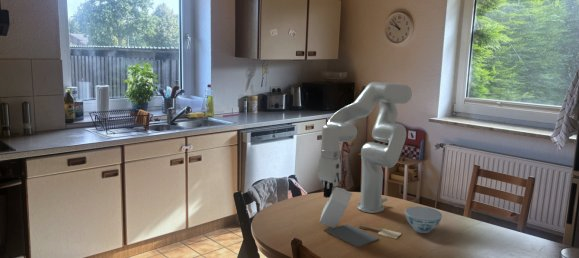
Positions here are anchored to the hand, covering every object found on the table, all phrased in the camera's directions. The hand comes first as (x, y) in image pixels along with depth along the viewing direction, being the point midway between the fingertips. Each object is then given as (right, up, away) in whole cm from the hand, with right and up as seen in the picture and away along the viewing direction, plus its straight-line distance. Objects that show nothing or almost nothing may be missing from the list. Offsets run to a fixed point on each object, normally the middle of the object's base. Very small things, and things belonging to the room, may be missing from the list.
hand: (327, 196), depth 207 cm
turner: (+21, -14, -3) cm, 26 cm away
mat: (+10, -15, -7) cm, 19 cm away
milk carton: (+1, -10, +2) cm, 11 cm away
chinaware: (+40, -14, 0) cm, 42 cm away
